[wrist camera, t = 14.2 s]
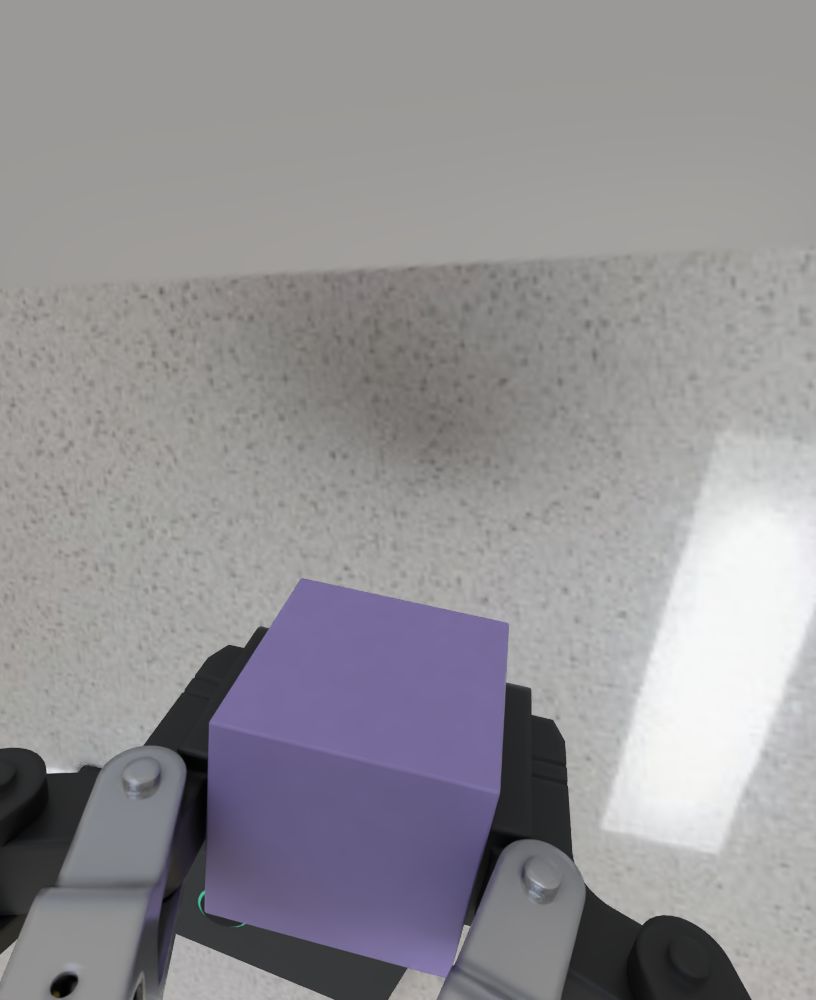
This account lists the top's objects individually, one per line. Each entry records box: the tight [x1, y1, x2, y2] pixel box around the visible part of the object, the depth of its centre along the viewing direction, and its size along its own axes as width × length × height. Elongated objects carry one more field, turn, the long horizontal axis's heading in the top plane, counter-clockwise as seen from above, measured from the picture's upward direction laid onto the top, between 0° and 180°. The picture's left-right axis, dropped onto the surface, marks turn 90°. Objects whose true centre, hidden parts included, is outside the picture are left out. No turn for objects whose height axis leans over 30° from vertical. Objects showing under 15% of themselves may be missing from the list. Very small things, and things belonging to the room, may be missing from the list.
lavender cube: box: [204, 579, 509, 978], centre depth 12 cm, size 4×4×4 cm
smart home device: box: [78, 766, 407, 1000], centre depth 36 cm, size 8×2×20 cm
